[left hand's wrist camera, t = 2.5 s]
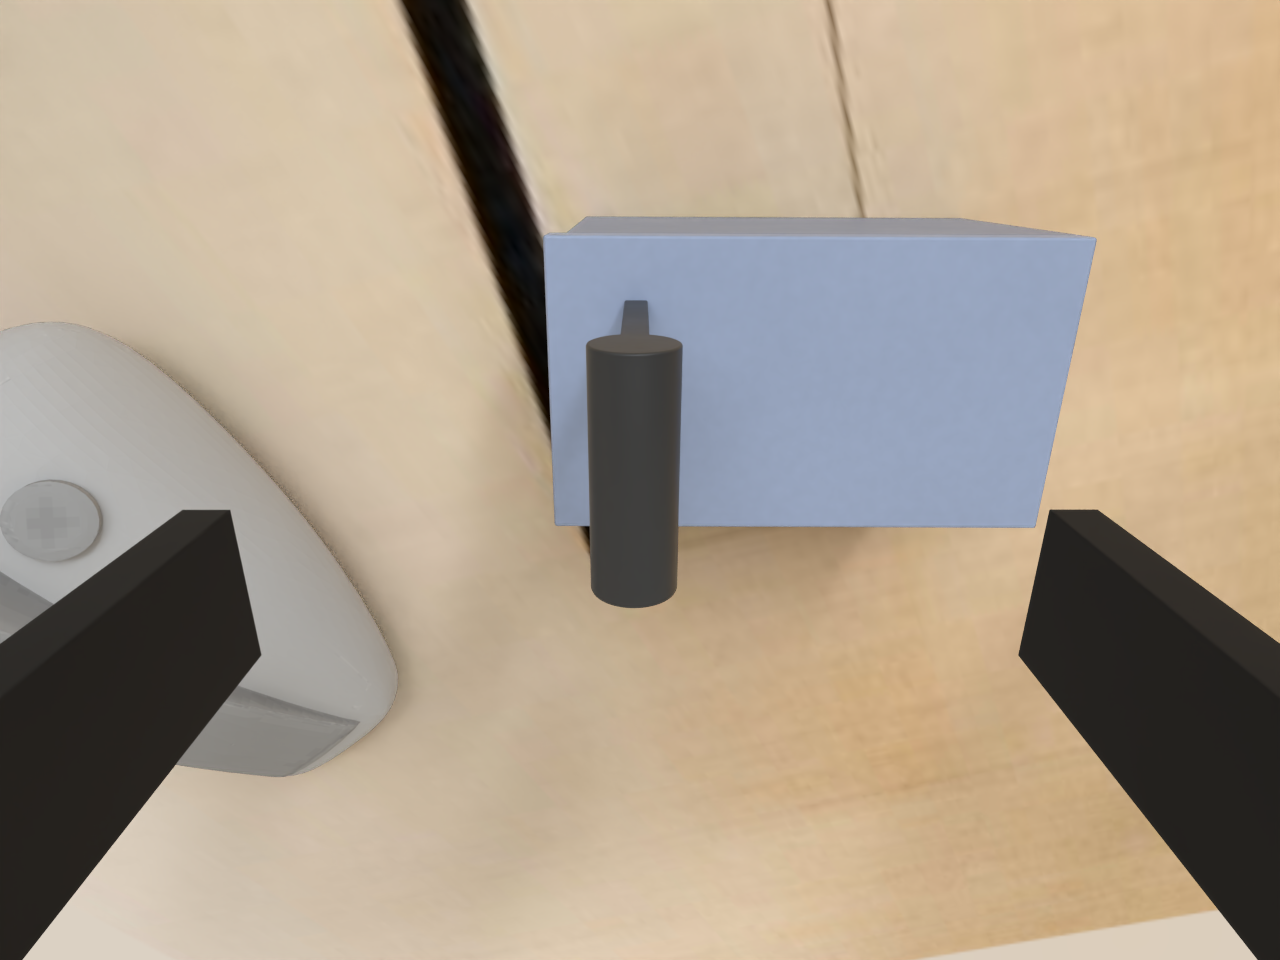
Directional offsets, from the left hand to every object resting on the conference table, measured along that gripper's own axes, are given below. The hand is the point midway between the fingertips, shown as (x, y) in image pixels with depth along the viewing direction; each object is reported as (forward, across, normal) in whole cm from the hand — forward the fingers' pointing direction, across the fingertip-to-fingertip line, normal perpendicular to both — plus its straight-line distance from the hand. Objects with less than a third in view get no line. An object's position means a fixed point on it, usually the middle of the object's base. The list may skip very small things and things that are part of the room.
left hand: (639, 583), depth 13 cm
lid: (+13, +5, 0) cm, 14 cm away
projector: (+23, -22, -11) cm, 33 cm away
